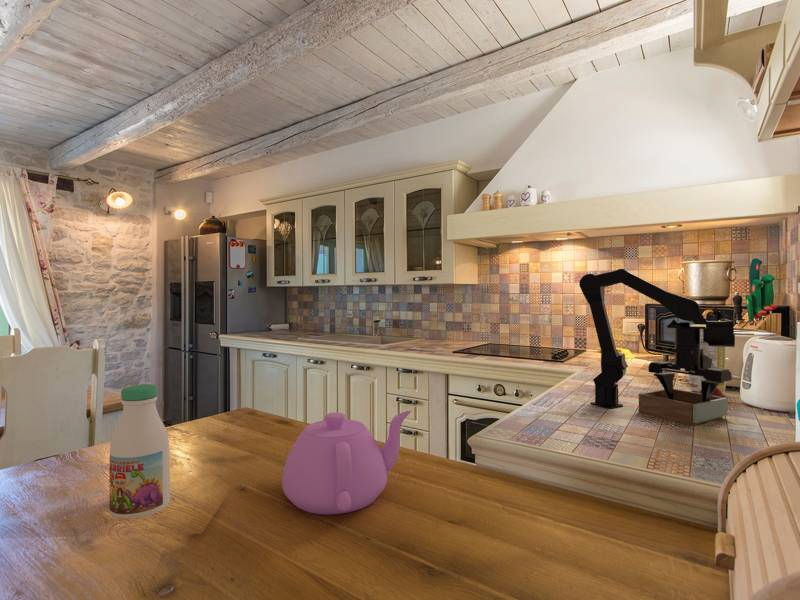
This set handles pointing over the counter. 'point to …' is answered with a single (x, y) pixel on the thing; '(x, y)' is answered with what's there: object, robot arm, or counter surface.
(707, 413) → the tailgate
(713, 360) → the juice carton
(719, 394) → the onion
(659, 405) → the crate
